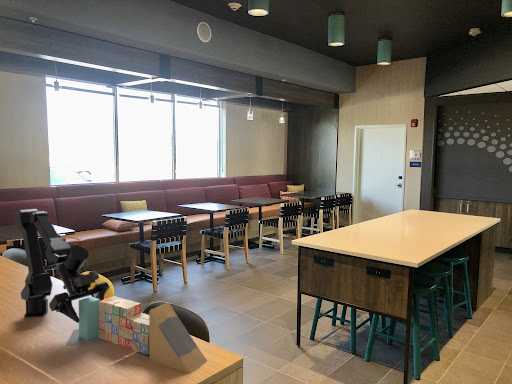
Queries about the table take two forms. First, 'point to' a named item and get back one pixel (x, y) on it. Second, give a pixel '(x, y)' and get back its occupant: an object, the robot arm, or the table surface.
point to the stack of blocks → (124, 324)
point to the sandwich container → (172, 341)
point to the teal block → (89, 318)
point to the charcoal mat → (78, 340)
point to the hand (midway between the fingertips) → (91, 317)
